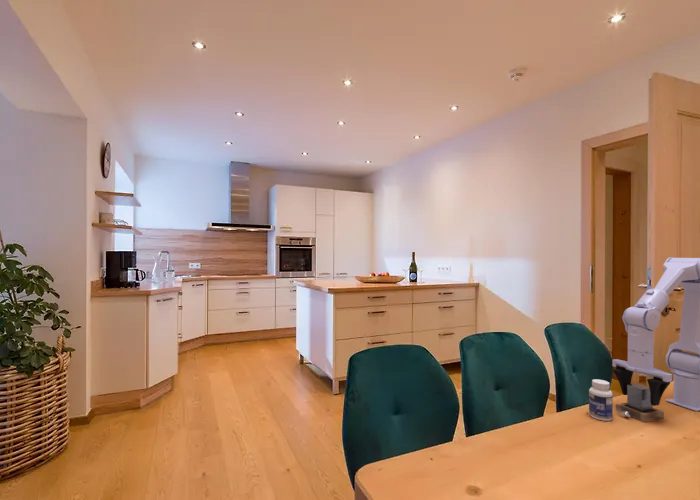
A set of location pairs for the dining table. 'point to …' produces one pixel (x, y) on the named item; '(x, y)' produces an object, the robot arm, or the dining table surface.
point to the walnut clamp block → (640, 413)
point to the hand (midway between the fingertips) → (640, 399)
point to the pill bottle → (600, 400)
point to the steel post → (639, 398)
